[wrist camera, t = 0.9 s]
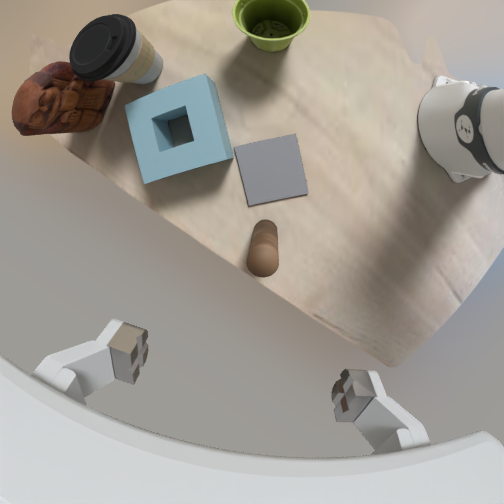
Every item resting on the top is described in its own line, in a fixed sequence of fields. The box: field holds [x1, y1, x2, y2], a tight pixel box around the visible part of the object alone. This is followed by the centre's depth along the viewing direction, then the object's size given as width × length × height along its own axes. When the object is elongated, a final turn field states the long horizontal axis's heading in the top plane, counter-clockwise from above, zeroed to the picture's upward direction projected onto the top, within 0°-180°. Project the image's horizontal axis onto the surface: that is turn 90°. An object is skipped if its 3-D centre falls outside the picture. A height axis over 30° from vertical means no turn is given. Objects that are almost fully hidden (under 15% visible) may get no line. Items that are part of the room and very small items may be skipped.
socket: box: [125, 74, 234, 184], centre depth 34 cm, size 12×12×6 cm
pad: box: [234, 134, 308, 206], centre depth 38 cm, size 9×9×1 cm
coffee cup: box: [69, 14, 163, 84], centre depth 26 cm, size 9×9×15 cm
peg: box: [247, 220, 279, 277], centre depth 36 cm, size 4×4×12 cm
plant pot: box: [232, 0, 310, 52], centre depth 26 cm, size 9×9×9 cm
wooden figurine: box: [12, 61, 115, 136], centre depth 27 cm, size 12×6×18 cm, turn 150°
